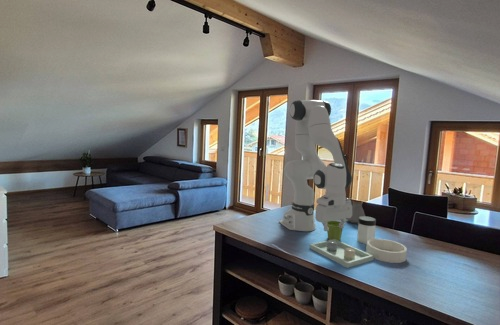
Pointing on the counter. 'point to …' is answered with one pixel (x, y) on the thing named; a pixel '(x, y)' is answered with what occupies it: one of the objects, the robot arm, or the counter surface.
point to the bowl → (386, 250)
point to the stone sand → (349, 254)
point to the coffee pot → (356, 212)
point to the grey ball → (332, 246)
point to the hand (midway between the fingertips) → (333, 229)
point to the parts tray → (341, 253)
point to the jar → (366, 229)
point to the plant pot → (334, 230)
